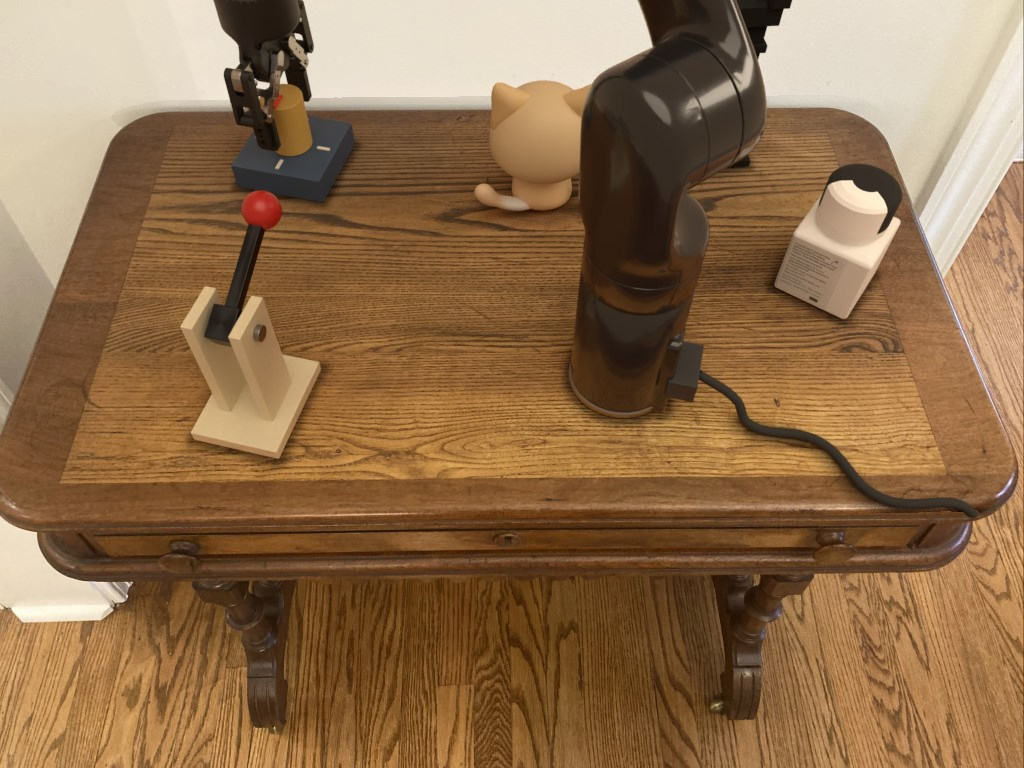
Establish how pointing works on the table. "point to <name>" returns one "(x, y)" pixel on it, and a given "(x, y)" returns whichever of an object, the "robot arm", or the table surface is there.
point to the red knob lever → (244, 263)
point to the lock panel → (297, 163)
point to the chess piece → (760, 30)
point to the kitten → (535, 143)
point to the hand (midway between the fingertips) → (286, 122)
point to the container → (842, 239)
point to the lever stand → (247, 380)
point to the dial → (291, 121)
